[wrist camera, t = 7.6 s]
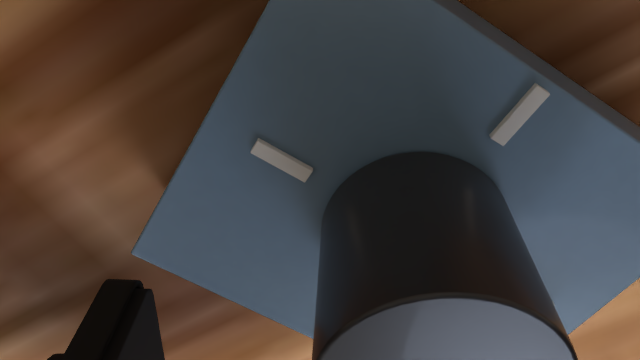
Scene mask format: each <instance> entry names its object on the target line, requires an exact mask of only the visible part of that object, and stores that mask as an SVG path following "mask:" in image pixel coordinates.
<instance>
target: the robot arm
mask: <svg viewBox="0 0 640 360" xmlns="http://www.w3.org/2000/svg"><path fill="white" fill-rule="evenodd" d="M47 360H165V358H164V352H163V347H162V341H161V335H160V330H159V324H158V318H157V312H156V307H155V301H154V295H153V291H152V290H151V289H144V287H143V284H142V282H141V281H140V280H119V279H107V280H106V281H105V282H104V283H103V284H102V286H101V288H100V290H99V291H98V293H97V295H96V297H95V299H94V301H93V302H92V304H91V306H90V308H89V310H88V311H87V313H86V315H85V317H84V319H83V321H82V322H81V324H80V326H79V328H78V330H77V331H76V333H75V335H74V337H73V339H72V341H71V342H70V344H69V346H68V348H67V350H66V352H65V353H64V354H53V355H52V356H51V357H49V358H48V359H47Z"/></svg>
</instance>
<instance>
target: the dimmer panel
mask: <svg viewBox="0 0 640 360" xmlns="http://www.w3.org/2000/svg"><path fill="white" fill-rule="evenodd" d="M407 152H434V153H440V154H445V155H449V156H452V157H455V158H458V159H461V160H463V161H465V162H468V163H470V164H472V165H473V166H475V167H476V168H478V169H480V170H481V171H482V172H484V173H485V174H486V175H487V176H488V177H489V178H490V179H491V180H492V181H493V182H494V183H495V184H496V186H497V187H498V188H499V190H500V192H501V193H502V195H503V197H504V199H505V201H506V203H507V205H508V208H509V210H510V212H511V214H512V216H513V218H514V220H515V223H516V225H517V227H518V229H519V231H520V233H521V236H522V238H523V240H524V242H525V244H526V246H527V248H528V251H529V253H530V255H531V257H532V259H533V261H534V263H535V266H536V268H537V270H538V272H539V274H540V276H541V279H542V281H543V283H544V285H545V287H546V289H547V291H548V294H549V296H550V298H551V300H552V302H553V304H554V306H555V309H556V311H557V313H558V315H559V317H560V319H561V322H562V324H563V326H564V328H565V330H566V332H567V334H570V333H571V332H572V331H573V330H575V329H576V328H577V327H578V326H580V325H581V324H582V323H583V322H585V321H586V320H587V319H588V318H590V317H591V316H592V315H593V314H595V313H596V312H597V311H598V310H600V309H601V308H602V307H603V306H605V305H606V304H607V303H608V302H610V301H611V300H612V299H613V298H615V297H616V296H617V295H618V294H620V293H621V292H622V291H623V290H625V289H626V288H627V287H628V286H630V285H631V284H632V283H633V282H635V281H636V280H637V279H638V278H640V127H639V126H637V125H636V124H634V123H633V122H632V121H630V120H629V119H627V118H626V117H624V116H623V115H621V114H620V113H619V112H617V111H616V110H614V109H613V108H611V107H610V106H609V105H607V104H606V103H604V102H603V101H601V100H600V99H598V98H597V97H596V96H594V95H593V94H591V93H590V92H588V91H587V90H585V89H584V88H583V87H581V86H580V85H578V84H577V83H575V82H574V81H572V80H571V79H570V78H568V77H567V76H565V75H564V74H562V73H561V72H560V71H558V70H557V69H555V68H554V67H552V66H551V65H549V64H548V63H547V62H545V61H544V60H542V59H541V58H539V57H538V56H536V55H535V54H534V53H532V52H531V51H529V50H528V49H526V48H525V47H523V46H522V45H521V44H519V43H518V42H516V41H515V40H513V39H512V38H510V37H509V36H508V35H506V34H505V33H503V32H502V31H500V30H499V29H498V28H496V27H495V26H493V25H492V24H490V23H489V22H487V21H486V20H485V19H483V18H482V17H480V16H479V15H477V14H476V13H474V12H473V11H472V10H470V9H469V8H467V7H466V6H464V5H463V4H461V3H460V2H459V1H457V0H269V2H268V4H267V6H266V7H265V9H264V11H263V13H262V15H261V16H260V18H259V20H258V22H257V24H256V26H255V27H254V29H253V31H252V33H251V35H250V36H249V38H248V40H247V42H246V44H245V46H244V47H243V49H242V51H241V53H240V55H239V56H238V58H237V60H236V62H235V64H234V66H233V67H232V69H231V71H230V73H229V75H228V76H227V78H226V80H225V82H224V84H223V86H222V87H221V89H220V91H219V93H218V95H217V96H216V98H215V100H214V102H213V104H212V106H211V107H210V109H209V111H208V113H207V115H206V116H205V118H204V120H203V122H202V124H201V126H200V127H199V129H198V131H197V133H196V135H195V136H194V138H193V140H192V142H191V144H190V146H189V147H188V149H187V151H186V153H185V155H184V156H183V158H182V160H181V162H180V164H179V166H178V167H177V169H176V171H175V173H174V175H173V176H172V178H171V180H170V182H169V184H168V186H167V187H166V189H165V191H164V193H163V195H162V196H161V198H160V200H159V202H158V204H157V206H156V207H155V209H154V211H153V213H152V215H151V216H150V218H149V220H148V222H147V224H146V225H145V227H144V229H143V231H142V233H141V235H140V236H139V238H138V240H137V242H136V244H135V245H134V247H133V249H132V251H131V254H132V255H135V256H137V257H139V258H141V259H143V260H145V261H147V262H150V263H152V264H154V265H156V266H158V267H160V268H162V269H165V270H167V271H169V272H171V273H173V274H175V275H177V276H180V277H182V278H184V279H186V280H188V281H190V282H192V283H195V284H197V285H199V286H201V287H203V288H205V289H207V290H210V291H212V292H214V293H216V294H218V295H220V296H222V297H225V298H227V299H229V300H231V301H233V302H235V303H237V304H240V305H242V306H244V307H246V308H248V309H250V310H252V311H255V312H257V313H259V314H261V315H263V316H265V317H267V318H270V319H272V320H274V321H276V322H278V323H280V324H282V325H285V326H287V327H289V328H291V329H293V330H295V331H297V332H300V333H302V334H304V335H306V336H308V337H310V338H312V339H314V325H315V310H316V296H317V282H318V268H319V253H320V239H321V225H322V219H323V215H324V212H325V209H326V207H327V204H328V202H329V201H330V199H331V197H332V195H333V194H334V193H335V191H336V190H337V189H338V188H339V186H340V185H341V184H342V183H343V182H344V181H345V180H346V179H347V178H348V177H349V176H351V175H352V174H354V173H355V172H356V171H358V170H359V169H361V168H362V167H364V166H366V165H368V164H370V163H372V162H374V161H376V160H379V159H381V158H384V157H388V156H391V155H395V154H401V153H407Z"/></svg>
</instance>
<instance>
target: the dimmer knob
mask: <svg viewBox="0 0 640 360" xmlns="http://www.w3.org/2000/svg"><path fill="white" fill-rule="evenodd" d="M312 360H578V358H577V355H576V353H575V350H574V347H573V345H572V343H571V341H570V339H569V337H568V334H567V332H566V330H565V328H564V326H563V324H562V322H561V319H560V317H559V315H558V313H557V311H556V309H555V306H554V304H553V302H552V300H551V298H550V296H549V294H548V291H547V289H546V287H545V285H544V283H543V281H542V279H541V276H540V274H539V272H538V270H537V268H536V266H535V263H534V261H533V259H532V257H531V255H530V253H529V251H528V248H527V246H526V244H525V242H524V240H523V238H522V236H521V233H520V231H519V229H518V227H517V225H516V223H515V220H514V218H513V216H512V214H511V212H510V210H509V208H508V205H507V203H506V201H505V199H504V197H503V195H502V193H501V192H500V190H499V188H498V187H497V186H496V184H495V183H494V182H493V181H492V180H491V179H490V178H489V177H488V176H487V175H486V174H485V173H484V172H482V171H481V170H480V169H478V168H476V167H475V166H473V165H472V164H470V163H468V162H465V161H463V160H461V159H458V158H455V157H452V156H449V155H445V154H440V153H434V152H407V153H401V154H395V155H391V156H388V157H384V158H381V159H379V160H376V161H374V162H372V163H370V164H368V165H366V166H364V167H362V168H361V169H359V170H358V171H356V172H355V173H354V174H352V175H351V176H349V177H348V178H347V179H346V180H345V181H344V182H343V183H342V184H341V185H340V186H339V188H338V189H337V190H336V191H335V193H334V194H333V195H332V197H331V199H330V201H329V202H328V204H327V207H326V209H325V212H324V215H323V219H322V225H321V239H320V253H319V268H318V282H317V296H316V310H315V325H314V339H313V353H312Z"/></svg>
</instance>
